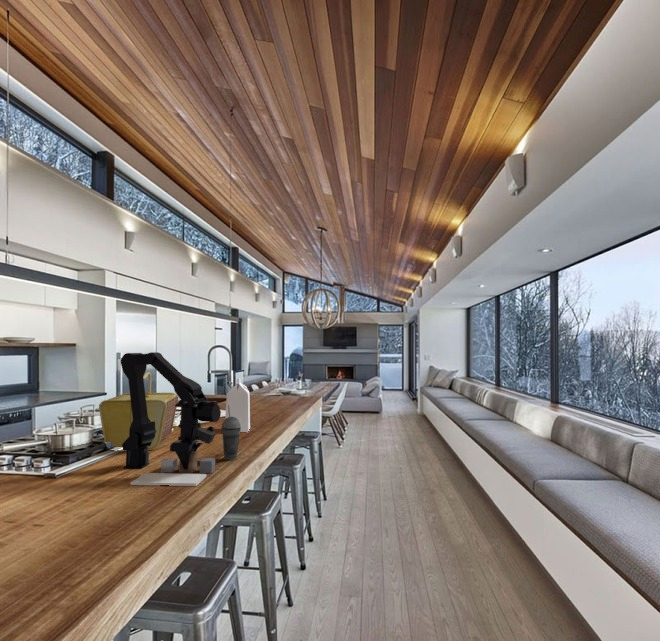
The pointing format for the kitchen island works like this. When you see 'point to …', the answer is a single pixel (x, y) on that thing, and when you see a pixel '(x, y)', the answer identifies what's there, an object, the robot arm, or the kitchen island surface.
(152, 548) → the kitchen island surface
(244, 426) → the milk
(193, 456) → the walnut block
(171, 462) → the grey metal block
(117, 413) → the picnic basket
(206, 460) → the charcoal block
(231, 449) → the beverage cup
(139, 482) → the cream tile
